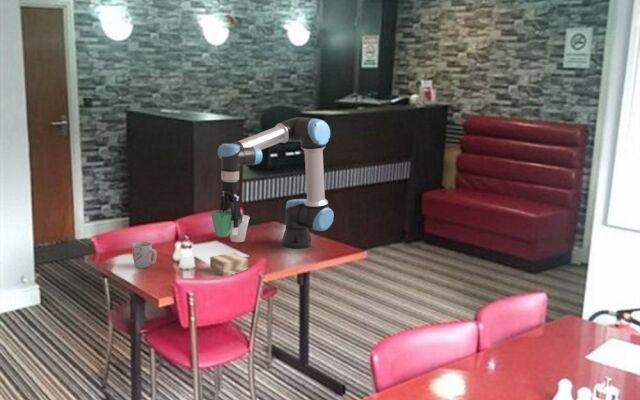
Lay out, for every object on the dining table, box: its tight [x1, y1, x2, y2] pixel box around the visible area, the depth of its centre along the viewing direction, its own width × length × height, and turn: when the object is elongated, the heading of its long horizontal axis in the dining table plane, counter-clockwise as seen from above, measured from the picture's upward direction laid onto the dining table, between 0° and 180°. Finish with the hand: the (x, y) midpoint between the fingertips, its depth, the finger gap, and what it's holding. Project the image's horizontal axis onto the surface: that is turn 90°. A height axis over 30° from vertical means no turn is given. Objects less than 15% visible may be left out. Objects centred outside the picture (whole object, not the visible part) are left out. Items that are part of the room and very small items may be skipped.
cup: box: [229, 214, 250, 243], centre depth 348 cm, size 12×12×12 cm
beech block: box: [209, 252, 249, 277], centre depth 298 cm, size 12×12×6 cm
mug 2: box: [210, 209, 244, 238], centre depth 294 cm, size 15×10×10 cm
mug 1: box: [131, 241, 158, 269], centre depth 300 cm, size 11×8×10 cm
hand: (229, 232), depth 296 cm, fingers closed on mug 2, 8 cm apart
